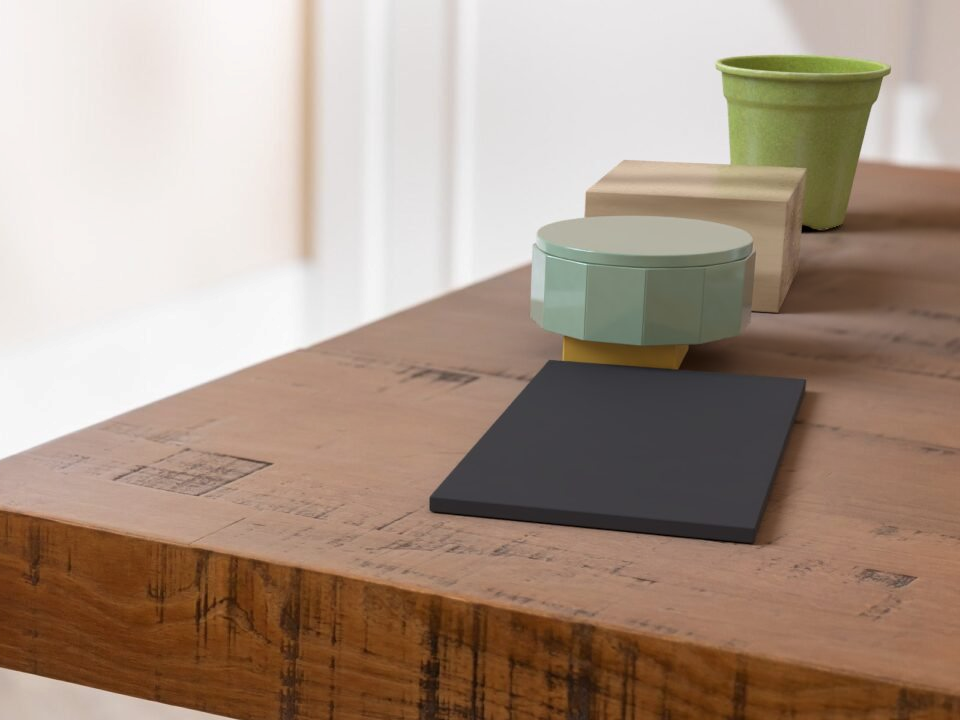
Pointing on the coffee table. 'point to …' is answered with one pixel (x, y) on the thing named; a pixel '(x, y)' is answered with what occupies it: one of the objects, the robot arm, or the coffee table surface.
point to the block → (623, 354)
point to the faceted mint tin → (642, 280)
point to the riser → (717, 209)
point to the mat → (631, 451)
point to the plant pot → (803, 121)
